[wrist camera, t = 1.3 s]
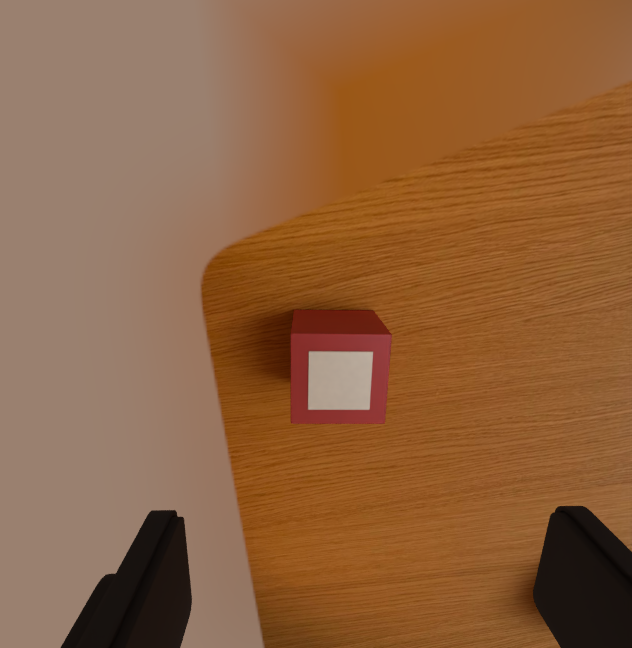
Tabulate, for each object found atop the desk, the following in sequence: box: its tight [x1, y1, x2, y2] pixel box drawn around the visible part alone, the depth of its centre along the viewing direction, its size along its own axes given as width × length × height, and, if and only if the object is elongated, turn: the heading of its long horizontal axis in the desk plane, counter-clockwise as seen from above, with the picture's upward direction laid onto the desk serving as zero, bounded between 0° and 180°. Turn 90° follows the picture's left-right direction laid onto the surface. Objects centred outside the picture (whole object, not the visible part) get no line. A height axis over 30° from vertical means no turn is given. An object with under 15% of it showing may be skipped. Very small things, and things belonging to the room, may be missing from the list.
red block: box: [291, 310, 392, 424], centre depth 21 cm, size 5×5×5 cm
